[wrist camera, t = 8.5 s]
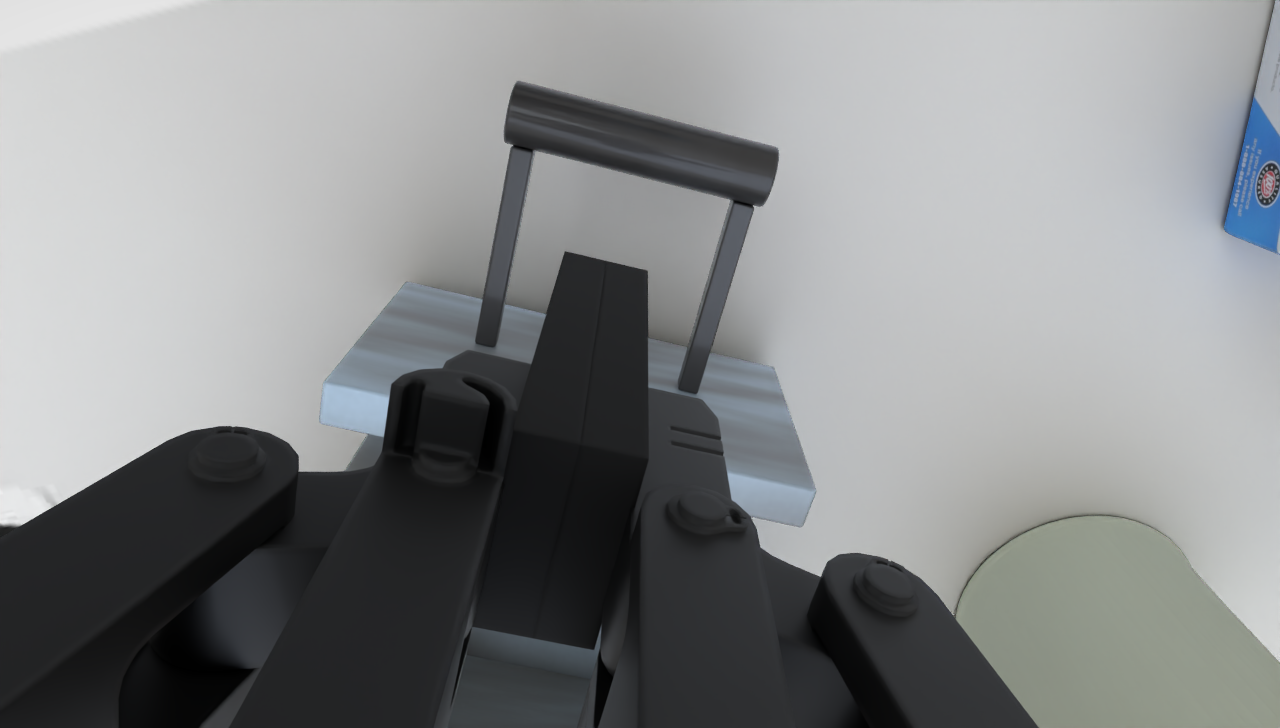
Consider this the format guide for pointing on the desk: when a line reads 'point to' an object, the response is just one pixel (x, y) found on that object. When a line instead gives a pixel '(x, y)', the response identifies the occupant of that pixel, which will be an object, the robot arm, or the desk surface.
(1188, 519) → the desk surface
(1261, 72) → the ink box
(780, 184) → the desk surface
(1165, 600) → the can
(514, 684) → the drawer
